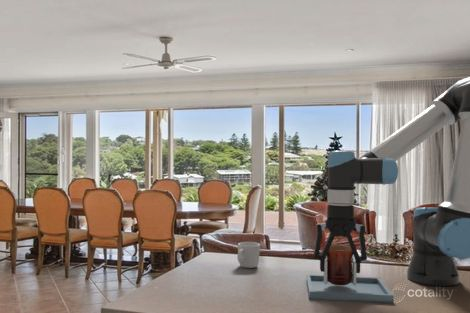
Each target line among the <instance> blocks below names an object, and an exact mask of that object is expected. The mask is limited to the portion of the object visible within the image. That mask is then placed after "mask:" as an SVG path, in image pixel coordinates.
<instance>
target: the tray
mask: <svg viewBox="0 0 470 313" xmlns="http://www.w3.org/2000/svg"><path fill="white" fill-rule="evenodd" d="M306 286H307V292H308V298H309V300H323V301H325V300H326V301H327V300H328V301H345V302H362V303H363V302H364V303H365V302H367V303H387V304H395V303H394V300H395V299H394V297H395V296H394V294H393V293H392V292H391V290H390V289H389V287H387V285H386V284H385V283H384V281H383V280H382V279H381V278H380V277H373V276H372V277H371V276H370V277H369V276H356V285H353V283H352V280H351V283H350V284H348V285H334V284H331V283H329V282H328V281H327V284H324V274H306Z"/></svg>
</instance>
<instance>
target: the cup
mask: <svg viewBox="0 0 470 313" xmlns="http://www.w3.org/2000/svg"><path fill="white" fill-rule="evenodd" d="M260 252H261V243H259V242H255V241H242V242H238V243H237V256H236V257H237V262H238V264H239V266H240V267H241V268H245V269H254V268H256V267H258V265H259V261H260Z"/></svg>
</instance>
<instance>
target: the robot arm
mask: <svg viewBox="0 0 470 313" xmlns="http://www.w3.org/2000/svg"><path fill="white" fill-rule="evenodd" d="M460 120H461V121H462V123H461V128H460V132H459V138H458V142H457V146H456V151H455V154H454V159H453V165H452V169H451V174H450V177H449V178H450V179H449V182H448V188H447V191H446V196H445V200H444V201H443V202H441V203H440V204H438V205H437V207H416V208H415V209H414V211H413V217H412V223H413V227H412V229H413V233H412V236H413V238H412V240H413V241H412V246H413V247H412V248H413V249H412V251H413V252H412V256H411V259H410V262H409V264H408V268H407V271H406V278H407V279H408V280H410V281H411V282H413V283H414V282H415V283H417V284H418V283H419V284H422V285H423V284H424V285H428V286H433V287H435V286H437V287H453V286H457V285H459V284H460V274H459V272H458V268H457V265H456V262H455V260H454V258H455V259H459V260H460V259H461V260H467V259H470V76H467V77H464V78H462V79H459V80H458V81H457V82H455V83H454V84H453V85H452V86H450V87H448V88H447V89H446V90H445V91H444V92H443V93H441V94H440V95H439V96H437V97H436V98H435V99H434V100H432V102H431V106H429V107H428V108H426V109H425V110H424V111H423V112H421V113H420V114H419V115H417V116H415V117H414V118H413V119H412V120H410V121H409V122H407V123H406V124H405V125H403V126H401V127H400V128H399V129H397V130H396V131H394V132H393V133H392V134H391V135H389V136H388V137H387V138H385V139H384V140H383V141H381V142H380V143H378V144H377V145H375V146H374V147H373V148H371V149H370V150H368V152H366V153H364V154H363V155H361V156H360V157H356V156H355V152H354V151H353V150H331V151H330V152H329V153H328V156H327V157H328V159H327V200H326V201H327V203H328V205H327V212H326V213H327V217H326V218H327V219H326V221H325V222H323V223H319V222H318V223H316V230H317V233H316V240H315V245H314V250H313V251H314V252H313V256H314V258H315V259H318V260H319V269H320V272H322V273H323V275H324V284H327V258H326V256H327V253H328V251H329V249H330V246H331V245H333V241H334V240H335V237H336V238H337V237H339V238H340V237H343V238H346V239H347V242H348V244H349V245H348V246H350V247H351V250H352V251H353V258H354V260H353V259H352V283H353V285H356V277H357V274H360V273H361V262H364V261H367V260H368V254H367V248H366V241H365V231H366V226H365V225H363V224H360V223H359V224H358V223H356V222H355V206H354V205H353V204H355V184H357V185H360V184H363V185H364V184H365V185H383V186H385V185H394V184H395V183H396V182H397V180H398V178H399V177H398V176H399V167H398V163H397V161H398V160H400V159H401V158H403V157H404V156H406V154H408V153H410V152H411V151H412V150H414V149H415V148H417V147H418V146H420V145H421V144H422V143H423V142H424V141H426V140H428V139H429V138H430V137H431V136H433V135H435V134H436V133H437V132H438V131H440V130H441V129H443V128H445V126H447V125H450V126H453V125H454V124H455V123H457V122H459V121H460ZM325 228H327V229H328V231H329V233H328V237H327V240H326V242H325V244H324V245H323V246H324V247H323V249H322V251H321V253H320V249H321V244H322V237H323V232H324V231H325ZM355 228H356V229H355ZM354 229H355V230H356V232H358V241H359V247H360V248H359V249H360V255H359V252H358V250H357V248H356V244H355V241H354V240H353V237H352V235H351V233H352V232H353V231H354Z"/></svg>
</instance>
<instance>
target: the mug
mask: <svg viewBox="0 0 470 313" xmlns="http://www.w3.org/2000/svg"><path fill="white" fill-rule="evenodd" d="M353 258H354V255H353V251H352V250H351V247H350V245H344V244H331V246H330V249H329V251H328V253H327V256H326V258H325V259H327V281H328V282H329V283H331V284H334V285H348V284H350V283H351V280H352V260H353Z"/></svg>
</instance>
